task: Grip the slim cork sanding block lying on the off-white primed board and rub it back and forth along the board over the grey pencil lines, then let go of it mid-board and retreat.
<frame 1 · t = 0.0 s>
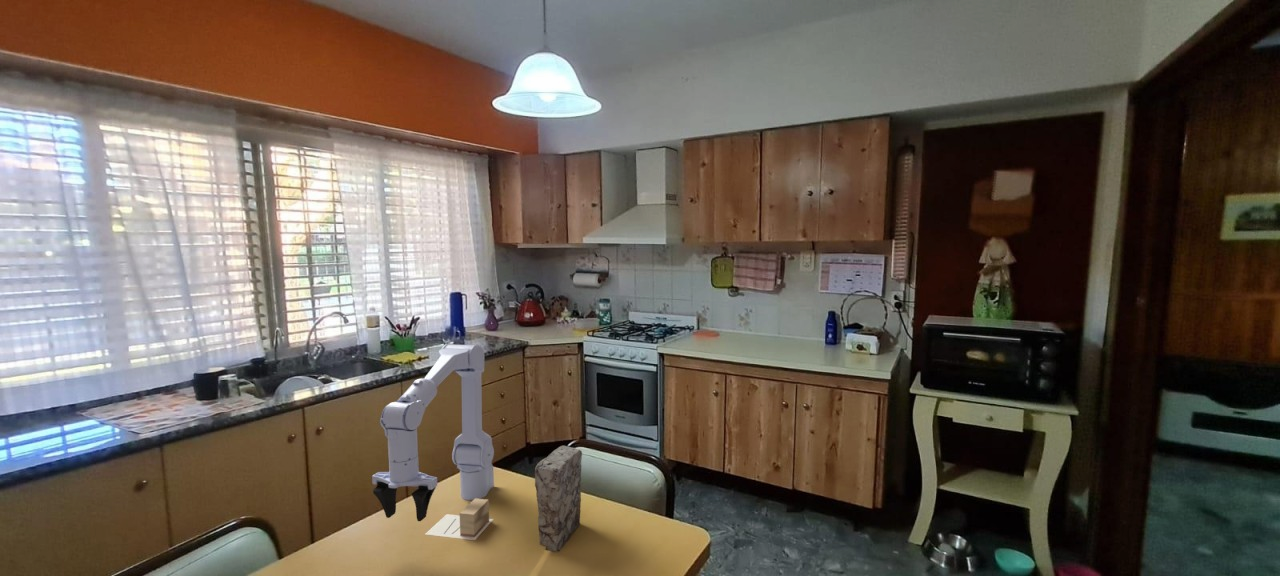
hand: (406, 517, 105), 10 cm above the table, fingers open, 7 cm apart
sanding block: (475, 528, 116), point 1 cm above the table, touching board
board: (460, 531, 117), on the table
stone block: (561, 536, 115), on the table
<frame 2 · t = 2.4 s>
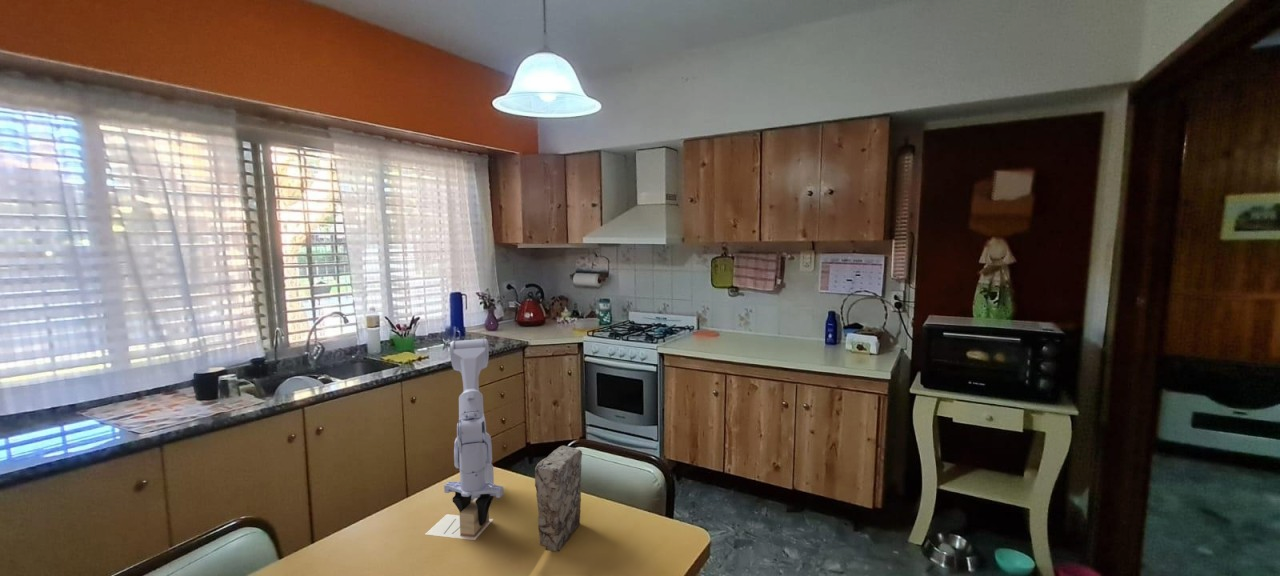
hand: (474, 522, 116), 3 cm above the table, fingers closed on sanding block, 4 cm apart
sanding block: (475, 528, 116), point 1 cm above the table, touching board, gripper
everything else where it was.
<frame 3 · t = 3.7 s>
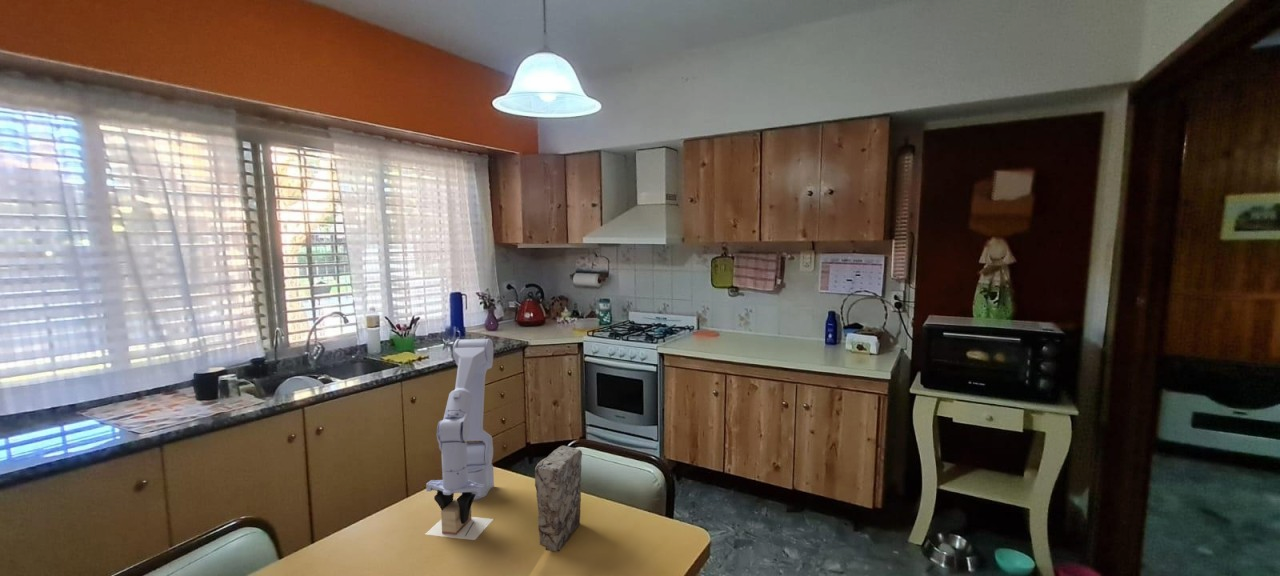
hand: (456, 520, 117), 3 cm above the table, fingers closed on sanding block, 4 cm apart
sanding block: (457, 525, 117), point 1 cm above the table, touching gripper
everything else where it was.
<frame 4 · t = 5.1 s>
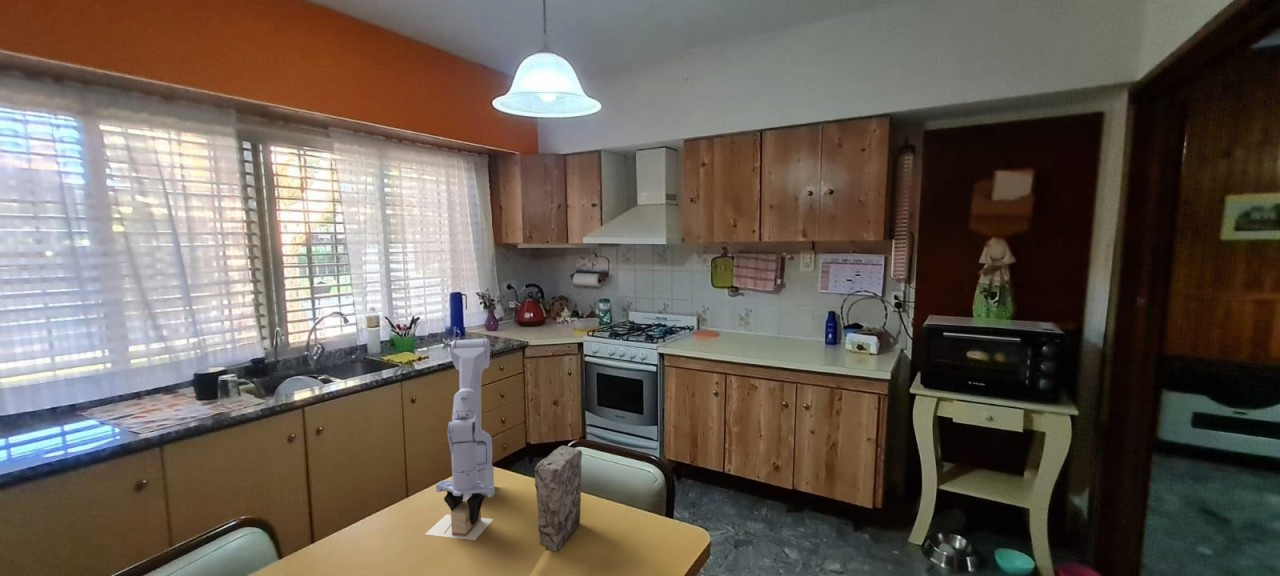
hand: (466, 521, 117), 3 cm above the table, fingers closed on sanding block, 4 cm apart
sanding block: (466, 527, 117), point 1 cm above the table, touching gripper
everything else where it was.
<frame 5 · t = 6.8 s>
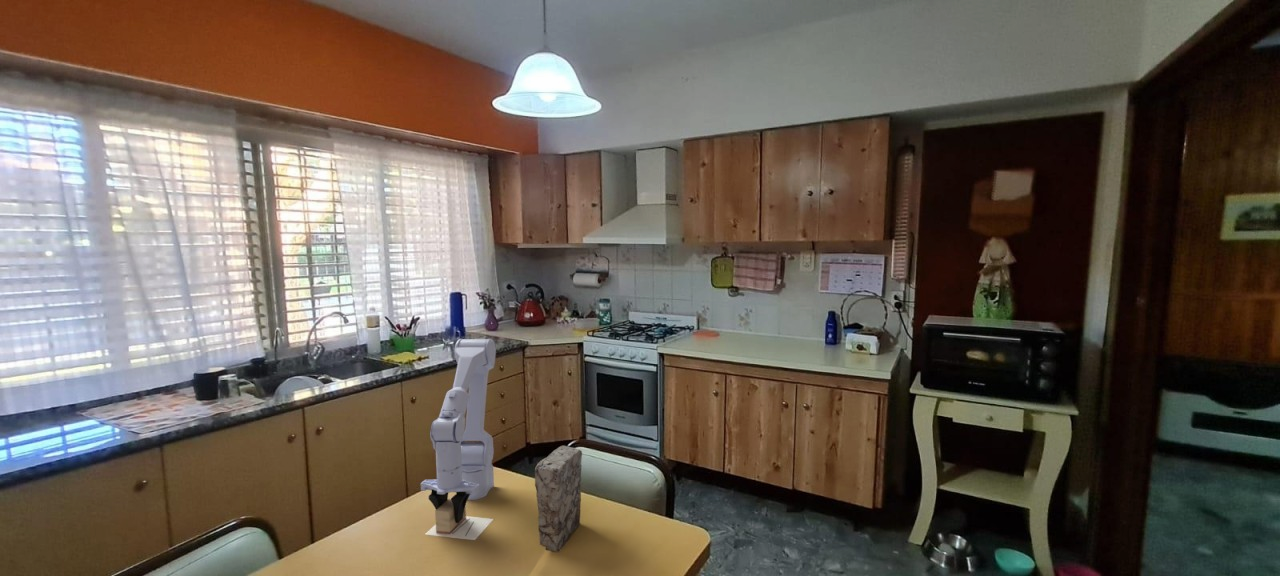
hand: (451, 520, 117), 3 cm above the table, fingers closed on sanding block, 4 cm apart
sanding block: (451, 525, 117), point 1 cm above the table, touching gripper
everything else where it was.
when the fingers open (3 cm above the table, at t = 7.8 s): sanding block stays where it is, resting on board.
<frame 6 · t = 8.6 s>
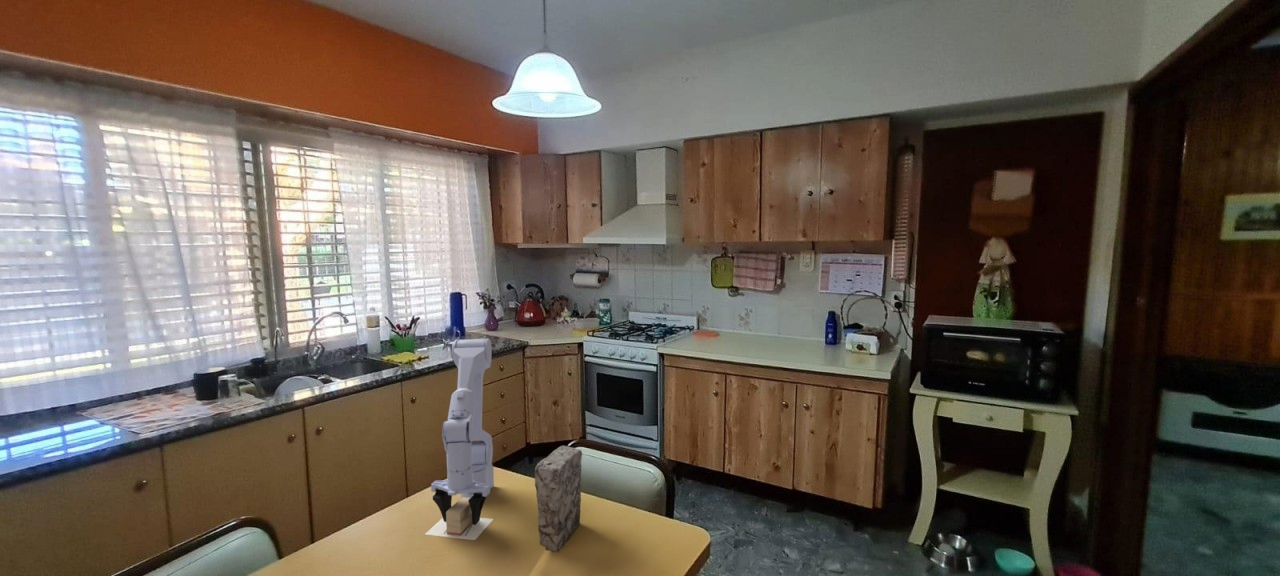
hand: (461, 521, 117), 3 cm above the table, fingers open, 7 cm apart
sanding block: (461, 526, 117), point 1 cm above the table, touching board
everything else where it was.
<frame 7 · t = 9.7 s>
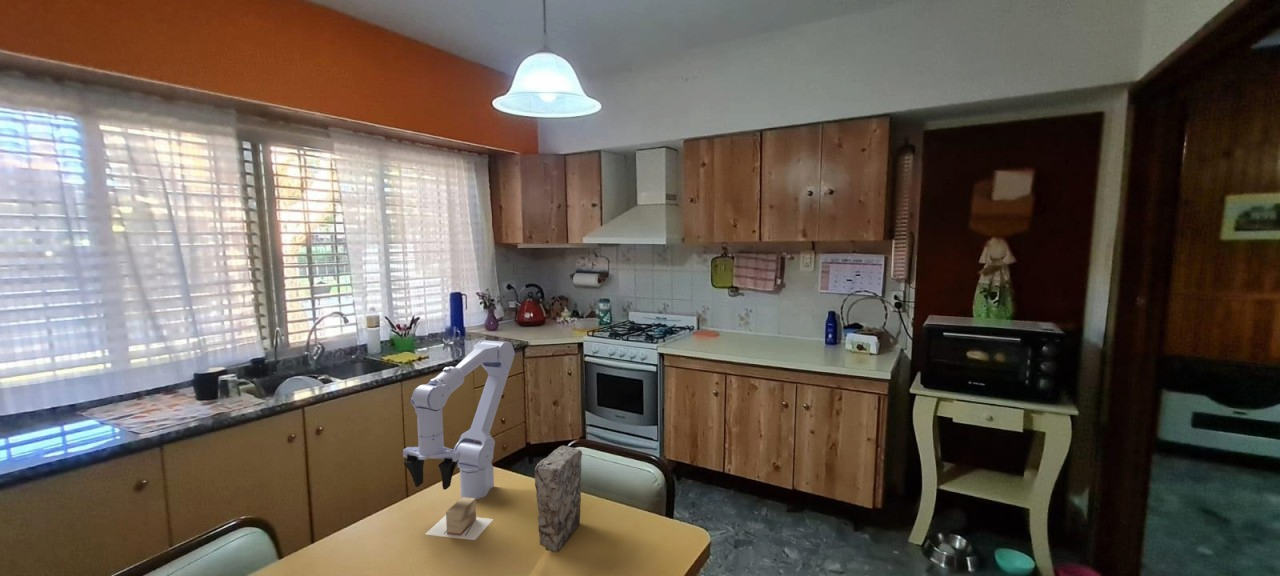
hand: (432, 486, 119), 10 cm above the table, fingers open, 7 cm apart
nothing on the table moved.
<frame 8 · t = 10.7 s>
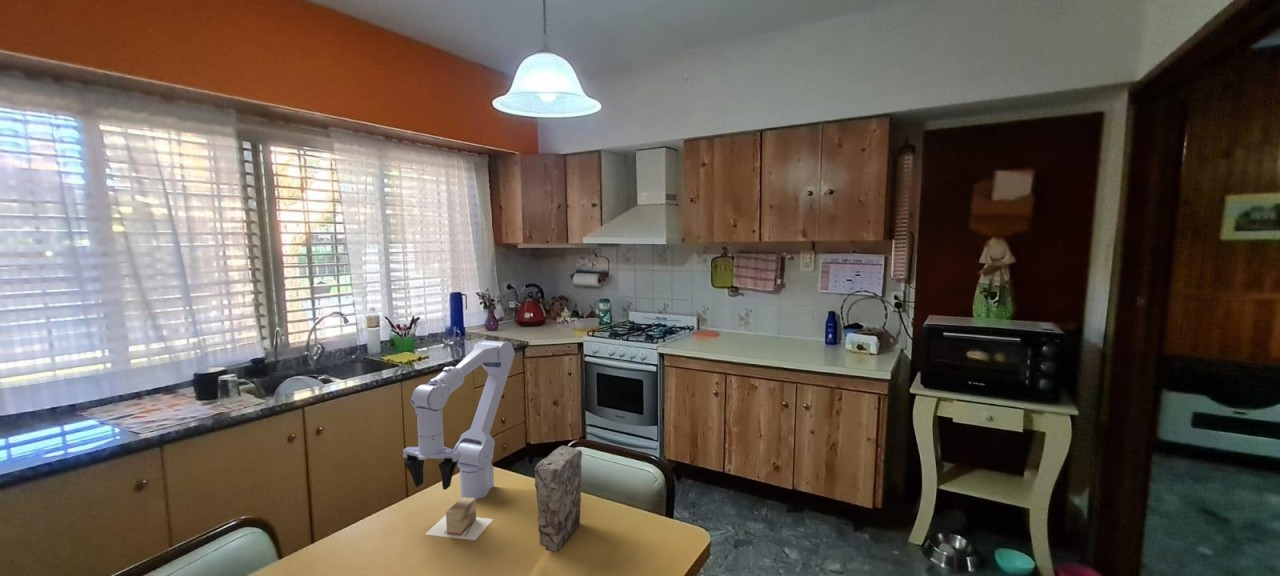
hand: (432, 486, 119), 10 cm above the table, fingers open, 7 cm apart
nothing on the table moved.
at the end: sanding block inside the target area on the board (0.5 cm from its centre), point 1.2 cm above the board's base; sanding block moved 3.5 cm from its start; the gripper is holding nothing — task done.
